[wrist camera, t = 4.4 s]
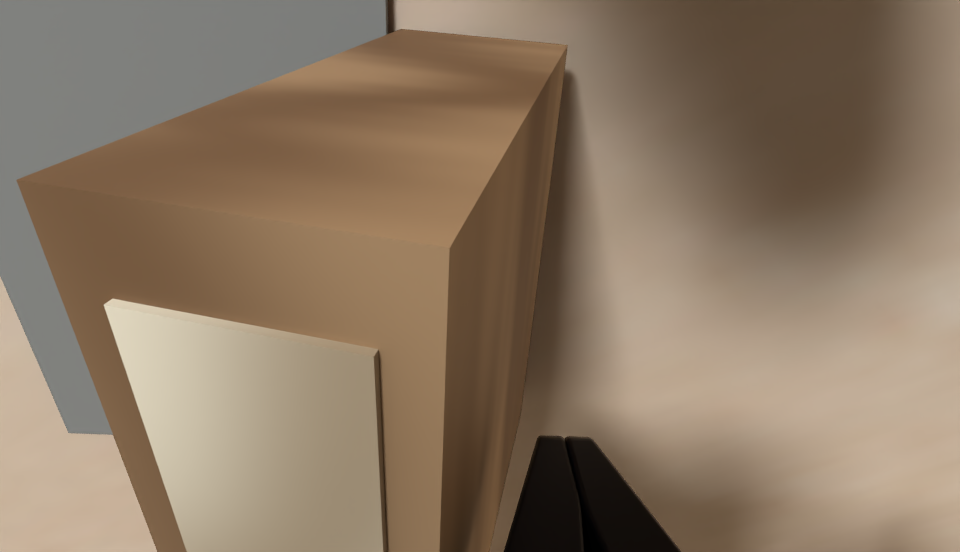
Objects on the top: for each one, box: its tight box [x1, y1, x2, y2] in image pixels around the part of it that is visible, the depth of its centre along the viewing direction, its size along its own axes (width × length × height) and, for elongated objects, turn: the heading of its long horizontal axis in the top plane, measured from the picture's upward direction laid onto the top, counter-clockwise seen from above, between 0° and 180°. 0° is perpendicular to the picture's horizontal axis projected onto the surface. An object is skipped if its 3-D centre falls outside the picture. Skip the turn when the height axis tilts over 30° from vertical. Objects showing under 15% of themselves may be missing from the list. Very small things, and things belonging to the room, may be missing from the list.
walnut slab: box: [16, 29, 568, 552], centre depth 11 cm, size 4×10×9 cm, turn 177°
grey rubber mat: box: [0, 0, 388, 435], centre depth 14 cm, size 10×14×1 cm
